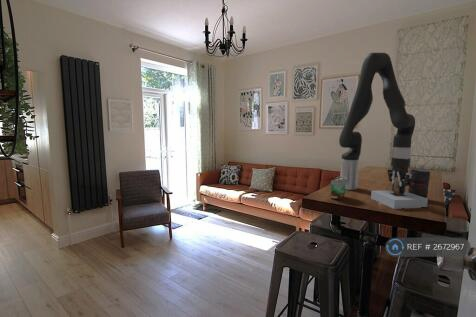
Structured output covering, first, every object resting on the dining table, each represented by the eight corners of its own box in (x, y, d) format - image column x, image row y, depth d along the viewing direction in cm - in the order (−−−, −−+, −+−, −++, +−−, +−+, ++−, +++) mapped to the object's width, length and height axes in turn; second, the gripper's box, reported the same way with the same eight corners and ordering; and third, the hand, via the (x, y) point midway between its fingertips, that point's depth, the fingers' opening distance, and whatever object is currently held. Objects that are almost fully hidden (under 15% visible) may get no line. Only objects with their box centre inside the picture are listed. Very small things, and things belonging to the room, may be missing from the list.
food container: (342, 201, 120) (343, 181, 118) (330, 199, 123) (330, 180, 122) (349, 196, 129) (350, 177, 128) (337, 194, 133) (337, 176, 132)
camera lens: (419, 202, 118) (421, 171, 116) (403, 197, 126) (406, 168, 124) (431, 200, 120) (434, 170, 118) (415, 196, 128) (418, 168, 126)
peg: (391, 197, 119) (392, 176, 118) (398, 196, 119) (399, 176, 118) (396, 199, 116) (398, 178, 114) (403, 199, 116) (405, 178, 115)
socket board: (371, 198, 125) (371, 190, 124) (400, 197, 127) (400, 189, 126) (393, 208, 109) (394, 200, 109) (427, 207, 111) (427, 198, 110)
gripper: (383, 155, 122) (380, 189, 124) (405, 159, 108) (402, 197, 110) (397, 155, 122) (394, 188, 125) (420, 158, 108) (417, 196, 111)
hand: (398, 192), depth 117 cm, fingers closed on peg, 3 cm apart
